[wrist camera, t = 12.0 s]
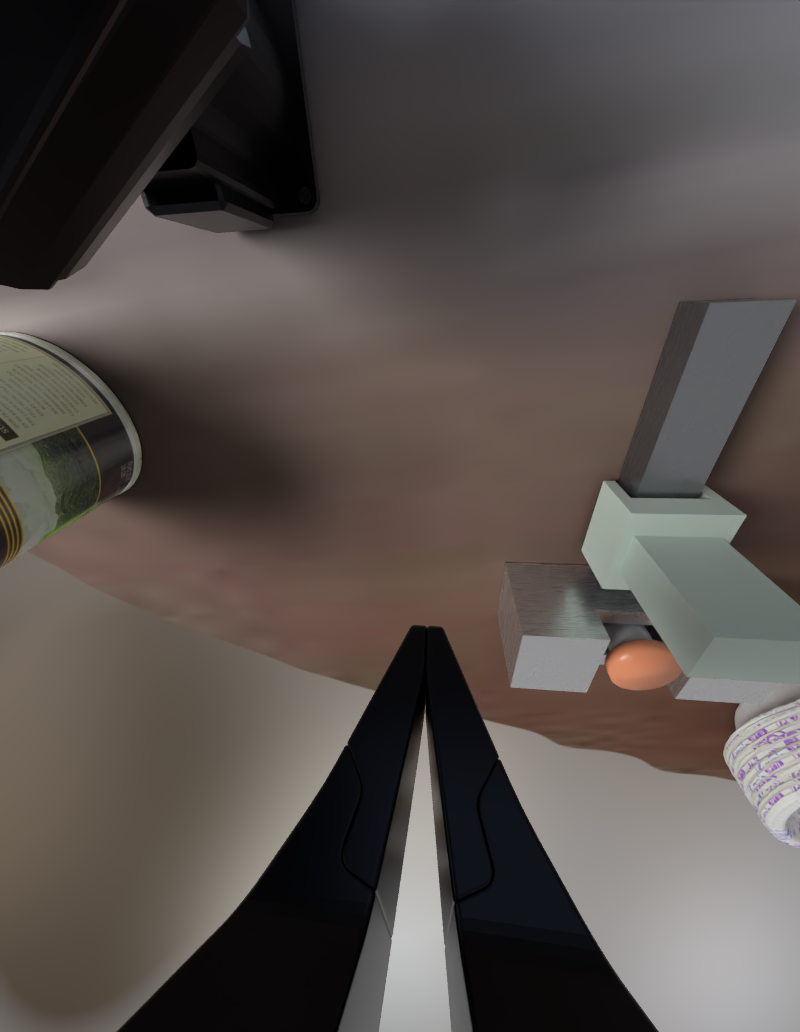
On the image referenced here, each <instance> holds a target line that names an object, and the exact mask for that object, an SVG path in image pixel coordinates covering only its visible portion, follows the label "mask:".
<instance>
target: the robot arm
mask: <svg viewBox="0 0 800 1032" xmlns="http://www.w3.org/2000/svg"><path fill="white" fill-rule="evenodd" d="M305 189H309V191H310V194H311V199H310V201H309V203H307V204H304V203H303V201H302V192H303V191H304V190H305ZM140 194H141V196H142V199H143V202H144V205H145V208H146V209H147V210H148V211H150V212H151V213H152V214H153V215H154V216H156V217H159V218H163V219H167V220H171V221H174V222H178V223H182V224H186V225H189V226H193V227H197V228H201V229H204V230H208V231H212V232H216V233H222V232H236V231H249V230H263V229H271V227H272V225H273V224H274V218H273V217H275V216H288V215H301V214H311V213H314V212H315V211H316V210H317V209H318V206H319V203H320V196H319V188H318V180H317V172H316V164H315V156H314V148H313V141H312V133H311V125H310V117H309V109H308V101H307V93H306V85H305V77H304V69H303V62H302V54H301V46H300V38H299V30H298V22H297V14H296V6H295V0H0V285H4V286H9V287H13V288H18V289H47V290H49V289H51V288H53V286H54V285H55V284H56V282H57V281H58V280H62V279H66V278H68V277H69V276H71V275H73V274H74V273H76V272H77V271H79V270H80V269H82V268H84V267H85V266H86V265H87V263H88V262H89V261H90V259H91V258H92V257H93V255H94V254H95V253H96V251H97V250H98V249H99V248H100V246H101V245H102V244H103V242H104V241H105V240H106V238H107V237H108V236H109V234H110V233H111V232H112V230H113V229H114V228H115V227H116V225H117V224H118V223H119V221H120V220H121V219H122V217H123V216H124V215H125V213H126V212H127V211H128V209H129V208H130V207H131V206H132V204H133V203H134V202H135V200H136V199H137V198H138V196H139V195H140ZM425 696H426V726H427V737H428V749H429V762H430V774H431V787H432V798H433V811H434V823H435V835H436V847H437V859H438V871H439V884H440V896H441V908H442V920H443V933H444V944H445V957H446V969H447V981H448V993H449V1006H450V1018H451V1030H452V1032H659V1031H658V1030H657V1029H656V1027H655V1026H654V1025H653V1023H652V1022H651V1021H650V1019H649V1018H648V1017H647V1015H646V1014H645V1013H644V1011H643V1010H642V1009H641V1007H640V1006H639V1004H638V1003H637V1002H636V1000H635V999H634V998H633V996H632V995H631V994H630V992H629V991H628V989H627V988H626V987H625V985H624V984H623V983H622V981H621V980H620V978H619V977H618V976H617V974H616V972H615V971H614V969H613V968H612V966H611V965H610V963H609V962H608V960H607V959H606V957H605V955H604V954H603V952H602V951H601V949H600V947H599V946H598V944H597V942H596V941H595V939H594V938H593V936H592V934H591V932H590V931H589V929H588V927H587V925H586V924H585V922H584V920H583V919H582V917H581V915H580V913H579V911H578V910H577V908H576V906H575V904H574V902H573V900H572V899H571V897H570V895H569V893H568V891H567V889H566V888H565V886H564V884H563V882H562V881H561V879H560V877H559V875H558V873H557V871H556V870H555V868H554V866H553V864H552V862H551V861H550V859H549V857H548V855H547V853H546V852H545V850H544V848H543V846H542V844H541V842H540V841H539V839H538V837H537V835H536V833H535V831H534V829H533V827H532V825H531V824H530V822H529V820H528V818H527V816H526V814H525V812H524V810H523V808H522V806H521V804H520V802H519V800H518V798H517V795H516V793H515V791H514V789H513V787H512V785H511V783H510V781H509V778H508V776H507V774H506V772H505V769H504V767H503V765H502V762H501V760H498V758H499V756H498V754H497V751H496V749H495V746H494V744H493V742H492V740H491V737H490V735H489V733H488V730H487V728H486V726H485V723H484V722H483V719H482V717H481V714H480V712H479V710H478V707H477V705H476V703H475V700H474V698H473V696H472V693H471V691H470V689H469V687H468V684H467V682H466V680H465V677H464V675H463V673H462V670H461V668H460V666H459V664H458V661H457V659H456V657H455V654H454V652H453V650H452V647H451V645H450V643H449V641H448V638H447V636H446V634H445V631H444V629H443V628H442V627H438V626H429V627H428V628H427V627H426V626H420V625H413V626H411V628H410V629H409V631H408V633H407V635H406V637H405V638H404V640H403V642H402V644H401V646H400V648H399V649H398V651H397V653H396V655H395V657H394V659H393V660H392V662H391V664H390V666H389V668H388V669H387V671H386V673H385V675H384V677H383V679H382V680H381V682H380V684H379V686H378V688H377V689H376V691H375V693H374V695H373V697H372V699H371V701H370V702H369V704H368V706H367V708H366V710H365V711H364V713H363V715H362V717H361V719H360V721H359V722H358V724H357V726H356V728H355V730H354V731H353V733H352V735H351V737H350V739H349V741H348V746H345V747H344V750H343V751H342V753H341V755H340V757H339V758H338V760H337V762H336V764H335V766H334V767H333V769H332V771H331V772H330V774H329V776H328V777H327V779H326V781H325V783H324V784H323V786H322V787H321V789H320V790H319V792H318V794H317V795H316V797H315V798H314V800H313V801H312V803H311V805H310V806H309V807H308V809H307V810H306V812H305V813H304V815H303V816H302V818H301V819H300V821H299V822H298V824H297V825H296V826H295V828H294V829H293V831H292V832H291V834H290V835H289V837H288V838H287V839H286V841H285V842H284V844H283V845H282V847H281V848H280V850H279V851H278V852H277V854H276V855H275V857H274V858H273V860H272V861H271V863H270V864H269V866H268V867H267V868H266V870H265V871H264V873H263V874H262V876H261V877H260V878H259V880H258V881H257V883H256V884H255V885H254V887H253V888H252V889H251V891H250V892H249V893H248V895H247V896H246V897H245V899H244V900H243V901H242V902H241V903H240V905H239V906H238V907H237V908H236V910H235V911H234V912H233V913H232V914H231V915H230V917H229V918H228V919H227V920H226V921H225V922H224V923H223V924H222V925H221V926H220V927H219V928H218V929H217V930H216V931H215V932H214V933H213V934H212V935H211V936H210V937H209V938H208V939H207V940H206V941H205V942H204V943H203V944H202V945H201V946H200V947H199V948H198V949H197V950H196V951H195V952H194V953H193V954H192V955H191V956H190V957H189V958H188V959H187V961H186V962H184V964H183V965H182V966H181V967H180V968H179V969H178V970H177V971H176V972H175V973H174V974H173V975H172V976H171V977H170V978H169V979H168V980H167V981H166V982H165V983H164V984H163V985H162V986H161V987H160V988H159V989H158V990H157V991H156V992H155V993H154V994H153V995H152V996H151V997H150V998H149V999H148V1000H147V1001H146V1002H145V1003H144V1004H143V1005H142V1006H141V1007H140V1008H139V1009H138V1010H137V1011H136V1012H135V1013H134V1014H133V1015H132V1016H131V1017H130V1018H129V1019H128V1020H127V1021H126V1022H125V1023H124V1024H123V1025H122V1026H121V1027H120V1028H119V1029H118V1030H117V1031H116V1032H379V1024H380V1018H381V1011H382V1004H383V997H384V990H385V983H386V976H387V970H388V963H389V956H390V949H391V937H392V934H393V928H394V921H395V914H396V906H397V900H398V893H399V886H400V880H401V873H402V865H403V858H404V852H405V845H406V838H407V832H408V824H409V817H410V811H411V804H412V796H413V790H414V783H415V776H416V769H417V763H418V756H419V749H420V742H421V735H422V728H423V721H424V713H425Z"/></svg>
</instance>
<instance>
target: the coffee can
mask: <svg viewBox="0 0 800 1032" xmlns="http://www.w3.org/2000/svg"><path fill="white" fill-rule="evenodd" d="M141 468H142V450H141V444H140V440H139V437H138V434H137V431H136V429H135V426H134V424H133V422H132V420H131V418H130V416H129V415H128V413H127V411H126V409H125V408H124V406H123V405H122V403H121V402H120V400H119V399H118V398H117V397H116V396H115V394H114V393H113V392H112V391H111V389H110V388H109V387H108V386H107V385H106V384H105V383H104V382H103V381H102V380H101V379H100V378H99V377H98V376H97V375H96V374H95V373H94V372H93V371H91V370H90V369H89V368H88V367H87V366H85V365H84V364H83V363H81V362H80V361H79V360H77V359H76V358H75V357H73V356H72V355H70V354H69V353H67V352H65V351H64V350H62V349H61V348H59V347H57V346H55V345H53V344H51V343H49V342H46V341H43V340H40V339H38V338H36V337H33V336H30V335H26V334H21V333H17V332H0V567H2V566H4V565H5V564H7V563H8V562H10V561H11V560H13V559H14V558H16V557H18V556H19V555H21V554H23V553H24V552H26V551H28V550H29V549H31V548H32V547H34V546H36V545H37V544H39V543H40V542H42V541H44V540H45V539H47V538H48V537H50V536H52V535H53V534H55V533H56V532H58V531H60V530H61V529H63V528H64V527H66V526H68V525H69V524H71V523H72V522H74V521H76V520H77V519H79V518H81V517H82V516H84V515H85V514H87V513H88V512H90V511H92V510H94V509H95V508H96V507H98V506H100V505H101V504H103V503H105V502H107V501H108V500H110V499H111V498H113V497H114V496H116V495H119V494H121V493H123V492H125V491H126V490H128V489H129V488H130V487H131V486H132V485H133V484H134V483H135V481H136V480H137V478H138V476H139V474H140V471H141Z"/></svg>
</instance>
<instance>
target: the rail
mask: <svg viewBox="0 0 800 1032" xmlns="http://www.w3.org/2000/svg"><path fill="white" fill-rule="evenodd" d="M796 301H797V299H757V298H756V299H733V300H711V301H688V302H679V305H678V308H677V311H676V314H675V317H674V320H673V323H672V325H671V328H670V331H669V334H668V337H667V340H666V343H665V346H664V349H663V352H662V355H661V357H660V360H659V363H658V366H657V369H656V372H655V375H654V378H653V381H652V384H651V387H650V390H649V392H648V395H647V398H646V401H645V404H644V407H643V410H642V413H641V416H640V419H639V422H638V424H637V427H636V430H635V433H634V436H633V439H632V442H631V445H630V448H629V451H628V454H627V457H626V459H625V462H624V465H623V468H622V471H621V474H620V477H619V480H618V483H617V484H618V485H619V486H620V487H621V488H622V489H623V490H624V491H625V492H626V494H627V495H628V496H629V497H630V498H680V499H698V497H699V495H700V493H701V491H702V489H703V487H704V485H705V483H706V481H707V479H708V477H709V475H710V473H711V471H712V469H713V467H714V465H715V463H716V461H717V459H718V457H719V455H720V453H721V451H722V449H723V447H724V445H725V443H726V441H727V439H728V437H729V435H730V433H731V431H732V429H733V427H734V425H735V423H736V421H737V419H738V417H739V415H740V413H741V411H742V409H743V407H744V405H745V403H746V401H747V399H748V397H749V395H750V393H751V391H752V389H753V387H754V385H755V383H756V381H757V379H758V377H759V375H760V373H761V371H762V369H763V367H764V365H765V363H766V361H767V359H768V357H769V355H770V353H771V351H772V349H773V347H774V345H775V343H776V341H777V339H778V337H779V335H780V333H781V331H782V329H783V327H784V325H785V323H786V321H787V319H788V317H789V315H790V313H791V311H792V309H793V307H794V305H795V303H796Z"/></svg>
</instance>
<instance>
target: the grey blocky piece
mask: <svg viewBox="0 0 800 1032" xmlns="http://www.w3.org/2000/svg"><path fill="white" fill-rule="evenodd" d="M497 615H498V620H499V626H500V632H501V637H502V643H503V648H504V654H505V660H506V665H507V671H508V677H509V682H510V687H514V688H528V689H543V690H557V691H572V692H587V690H588V688H589V686H590V684H591V681H592V679H593V677H594V675H595V673H596V671H597V668H598V666H599V664H603V665H605V664H604V661H605V657H606V656H607V654H608V653H609V652H610V650H609V648H608V645H609V642H610V638H609V636H608V634H607V632H606V630H605V628H604V626H603V624H602V623H618V624H638V625H644V626H645V628H646V629H647V631H648V633H649V634H650V636H651V637H652V639H653V640H657V641H661V642H664V641H663V640H662V638H661V637H660V635H659V633H658V632H657V630H656V629H655V627H654V626H653V624H652V623H651V621H650V619H649V618H648V616H647V615H646V613H645V612H644V610H643V608H642V607H641V605H640V604H639V602H638V601H637V599H636V598H635V596H634V594H633V593H632V591H631V590H618V589H602V587H601V586H600V584H599V582H598V580H597V578H596V576H595V575H594V573H593V571H592V569H591V567H590V565H570V564H538V563H507V562H505V567H504V573H503V579H502V585H501V591H500V597H499V603H498V609H497ZM779 684H780V683H773V682H757V681H742V680H726V679H710V678H694V677H686V676H685V674H684V673H683V671H682V672H681V674H680V675H679V676H678V677H677V678H676V679H675V680H674V681H672V682H671V683H669V684H667V686H668V687H669V689H670V691H671V693H672V694H673V696H674V698H675V699H687V700H701V701H715V702H730V703H744V704H758V705H759V704H760V703H761V702H762V701H763V700H764V699H765V698H766V697H767V696H768V695H769V694H770V693H771V692H772V691H773V690H774V689H775V688H776V687H777V686H778V685H779Z"/></svg>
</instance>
